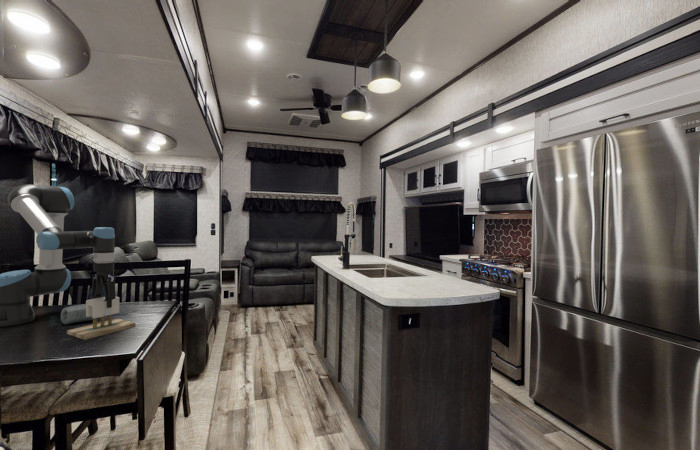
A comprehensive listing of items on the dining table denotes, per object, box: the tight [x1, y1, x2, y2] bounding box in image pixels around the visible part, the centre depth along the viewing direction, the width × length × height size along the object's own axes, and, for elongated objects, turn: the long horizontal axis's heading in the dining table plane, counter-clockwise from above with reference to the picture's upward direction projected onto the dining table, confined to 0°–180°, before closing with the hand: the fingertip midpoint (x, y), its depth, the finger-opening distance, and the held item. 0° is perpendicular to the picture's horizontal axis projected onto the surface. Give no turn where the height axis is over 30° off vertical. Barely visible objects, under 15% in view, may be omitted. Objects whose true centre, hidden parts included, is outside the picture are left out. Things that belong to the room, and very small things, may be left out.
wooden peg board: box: [66, 315, 136, 341], centre depth 146 cm, size 14×20×6 cm
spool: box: [60, 303, 96, 325], centre depth 156 cm, size 14×10×10 cm
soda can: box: [88, 288, 105, 300], centre depth 174 cm, size 7×7×12 cm
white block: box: [85, 296, 120, 319], centre depth 146 cm, size 6×10×7 cm, turn 155°
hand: (103, 313), depth 146 cm, fingers closed on white block, 6 cm apart
